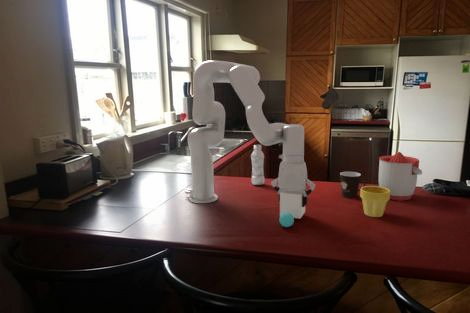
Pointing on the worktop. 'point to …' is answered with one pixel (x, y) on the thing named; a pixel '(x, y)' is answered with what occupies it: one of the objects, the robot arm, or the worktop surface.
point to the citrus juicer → (399, 175)
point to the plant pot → (374, 200)
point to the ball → (286, 219)
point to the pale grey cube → (291, 203)
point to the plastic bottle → (257, 166)
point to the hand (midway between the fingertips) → (292, 204)
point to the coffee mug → (350, 184)
